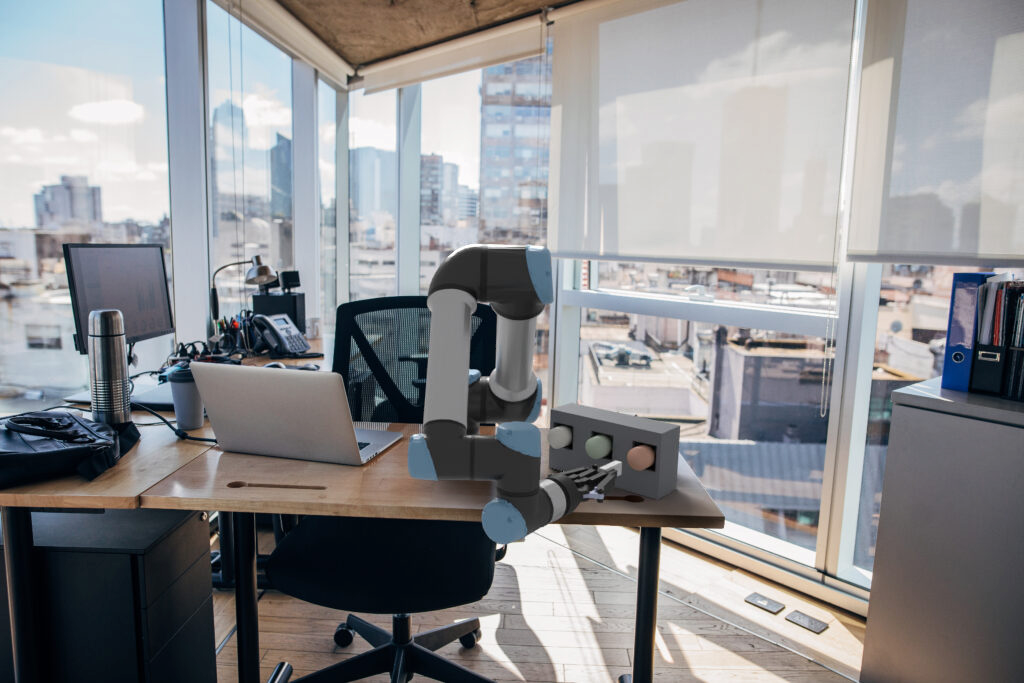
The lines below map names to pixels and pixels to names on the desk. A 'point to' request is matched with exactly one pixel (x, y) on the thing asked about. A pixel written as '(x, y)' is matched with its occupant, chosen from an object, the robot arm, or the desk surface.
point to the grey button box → (619, 446)
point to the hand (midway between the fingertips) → (618, 467)
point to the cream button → (560, 436)
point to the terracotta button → (641, 457)
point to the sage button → (599, 446)
